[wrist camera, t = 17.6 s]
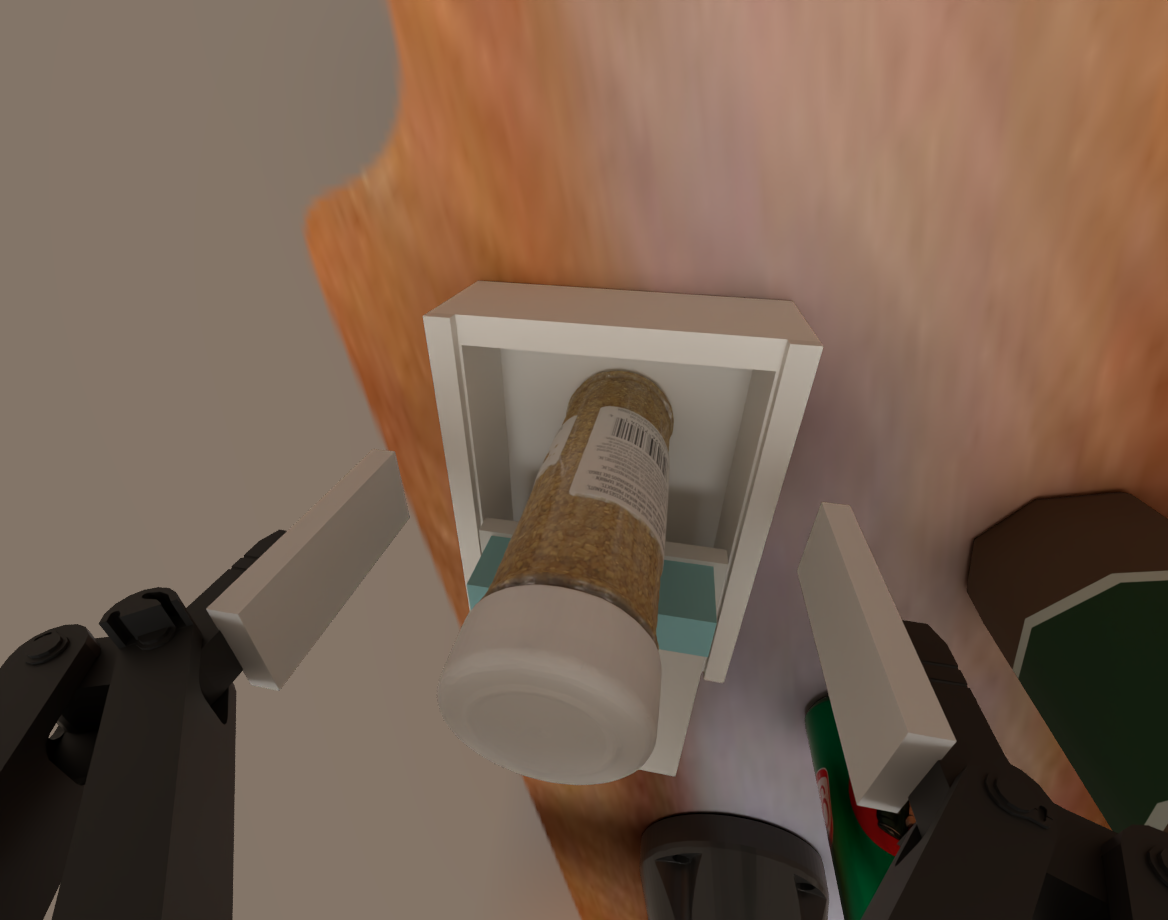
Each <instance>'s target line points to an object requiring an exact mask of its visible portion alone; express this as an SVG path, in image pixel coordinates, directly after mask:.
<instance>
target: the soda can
mask: <svg viewBox="0 0 1168 920" xmlns="http://www.w3.org/2000/svg"><path fill="white" fill-rule="evenodd" d="M805 727H806V732H807V737H808V742H809V747H810V752H811V757H812V762H813V767H814V772H815V777H816V781H817V786H818V791H819V796H820V801H821V806H822V811H823V816H824V821H825V826H826V831H827V836H828V841H829V846H830V851H831V856H832V861H833V865H834V870H835V875H836V880H837V885H838V890H839V895H840V900H841V905H842V910H843V915H844V920H861V918H862V916H863V915H864V913H865V911H866V909H867V907H868V905H869V904H870V902H871V900H872V898H873V896H874V894H875V893H876V891H877V889H878V887H879V885H880V883H881V882H882V880H883V878H884V876H885V874H886V873H887V871H888V869H889V867H890V865H891V863H892V862H893V860H894V858H895V856H896V854H897V852H898V851H899V849H900V846H899V845H897V843H898V842H899V841H900V840H901V838H902V837H903V836H904V835H905V834H906V833H907V832H908V831H909V829H910V828H911V827H912V826H913V825H914V824H915V823H916V820H915V817H914V814H913V811H912V808H911V805H910V802H909V800H908V801H907V802H906V803H905V804H904V806H903V807H902V808H901V809H900V810H899V812H898V813H894V812H889V811H884V810H879V809H874V808H869V807H864V806H859V805H857V803H856V799H855V796H854V792H853V788H852V784H851V780H850V776H849V772H848V768H847V764H846V760H845V757H844V753H843V749H842V745H841V741H840V737H839V733H838V729H837V725H836V722H835V718H834V714H833V710H832V706H831V702H830V698H829V696H827V697H824V698H822V699H820V700H818V701H817V702H816V703H815V704H814V705H813V706H812V707H811V708H810V710H809V711H808V713H807V715H806V717H805Z"/></svg>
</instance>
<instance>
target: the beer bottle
mask: <svg viewBox="0 0 1168 920" xmlns="http://www.w3.org/2000/svg"><path fill="white" fill-rule="evenodd" d="M967 592H968V594H969V596H970V598H971V600H972V602H973V604H974V606H975V608H976V610H977V611H978V613H979V615H980V617H981V619H982V621H983V623H984V624H985V626H986V628H987V629H988V631H989V632H990V634H991V636H992V637H993V639H994V641H995V642H996V644H997V645H998V647H999V649H1000V650H1001V652H1002V653H1003V655H1004V657H1005V658H1006V660H1007V661H1008V663H1009V665H1010V666H1011V668H1012V669H1013V671H1014V673H1015V674H1016V676H1017V678H1018V679H1019V681H1020V682H1021V684H1022V686H1023V687H1024V689H1025V690H1026V692H1027V694H1028V695H1029V697H1030V698H1031V700H1032V702H1033V703H1034V705H1035V707H1036V708H1037V710H1038V711H1039V713H1040V715H1041V716H1042V718H1043V719H1044V721H1045V723H1046V724H1047V726H1048V727H1049V729H1050V731H1051V732H1052V734H1053V736H1054V737H1055V739H1056V740H1057V742H1058V744H1059V745H1060V747H1061V748H1062V750H1063V752H1064V753H1065V755H1066V756H1067V758H1068V760H1069V761H1070V763H1071V765H1072V766H1073V768H1074V769H1075V771H1076V773H1077V774H1078V776H1079V777H1080V779H1081V781H1082V782H1083V784H1084V785H1085V787H1086V789H1087V790H1088V792H1089V794H1090V795H1091V797H1092V798H1093V800H1094V802H1095V803H1096V805H1097V806H1098V808H1099V810H1100V811H1101V813H1102V814H1103V816H1104V818H1105V819H1106V821H1107V823H1108V824H1109V826H1110V827H1111V829H1112V831H1114V832H1116V833H1120V832H1121V831H1123V830H1124V829H1126V828H1127V827H1129V826H1131V825H1132V824H1135V825H1149V826H1151V827H1154V828H1156V829H1159V830H1162V831H1164V832H1167V833H1168V519H1167V518H1165V517H1164V516H1162V515H1161V514H1159V513H1158V512H1156V511H1155V510H1153V509H1152V508H1150V507H1149V506H1148V505H1146V504H1145V503H1143V502H1142V501H1140V500H1139V499H1137V498H1136V497H1134V496H1133V495H1131V494H1128V493H1122V492H1114V493H1103V494H1092V495H1081V496H1070V497H1059V498H1048V499H1037V500H1034V501H1033V502H1031V503H1030V504H1028V505H1027V506H1025V507H1024V508H1022V509H1020V510H1019V511H1017V512H1016V513H1014V514H1013V515H1011V516H1010V517H1008V518H1007V519H1005V520H1004V521H1002V522H1000V523H999V524H997V525H996V526H994V527H993V528H991V529H990V530H988V531H987V532H985V533H984V534H982V535H980V536H979V537H977V538H976V539H974V546H973V552H972V558H971V565H970V571H969V577H968V584H967Z"/></svg>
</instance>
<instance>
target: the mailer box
mask: <svg viewBox="0 0 1168 920" xmlns="http://www.w3.org/2000/svg"><path fill="white" fill-rule="evenodd" d="M423 321H424V327H425V334H426V340H427V346H428V352H429V359H430V365H431V371H432V377H433V384H434V390H435V396H436V402H437V409H438V415H439V421H440V427H441V434H442V440H443V446H444V452H445V459H446V465H447V471H448V477H449V484H450V490H451V496H452V502H453V509H454V515H455V521H456V527H457V534H458V540H459V546H460V552H461V559H462V565H463V571H464V577H465V584H466V590H467V583H468V581H469V579H470V577H471V575H472V573H473V571H474V569H475V567H476V565H477V563H478V561H479V559H480V557H481V555H482V551H481V543H480V535H479V529H480V527H481V525H482V523H483V521H484V520H485V518H486V517H488V518H495V519H503V520H510V521H517V522H519V520H520V518H521V516H522V514H523V511H524V509H525V506H526V504H527V501H528V499H529V497H530V495H531V493H532V490H533V486H534V482H535V479H536V477H537V475H538V472H539V470H540V468H541V466H542V464H543V462H544V459H545V457H546V455H547V453H548V450H549V448H550V446H551V444H552V442H553V439H554V437H555V435H556V433H557V432H558V430H559V429H560V427H561V426H562V424H563V422H564V419H565V418H566V412H567V407H568V403H569V401H570V398H571V396H572V395H573V394H574V392H575V391H576V390H577V389H578V388H579V387H580V386H581V385H582V383H584V382H585V381H586V380H587V379H589V378H591V377H592V376H594V375H596V374H598V373H602V372H609V371H626V372H631V373H635V374H639V375H641V376H643V377H645V378H646V379H648V380H650V381H651V382H653V383H654V384H655V385H657V386H658V387H659V389H660V390H661V391H662V392H663V393H664V394H665V396H666V398H667V400H668V401H669V403H670V405H671V408H672V411H673V418H674V426H673V433H672V435H671V437H670V440H669V452H668V453H669V459H670V471H669V490H668V507H667V523H666V538H665V541H666V542H674V543H681V544H688V545H696V546H703V547H711V548H718V549H726V550H727V557H728V568H727V572H726V576H725V580H724V584H723V588H722V592H721V596H720V600H719V604H718V608H717V612H716V617H717V625H716V629H715V633H714V636H713V640H712V644H711V648H710V652H709V656H708V657H705V660H704V664H703V668H702V672H704V680H708V681H714V682H720V683H724V681H725V677H726V674H727V670H728V667H729V664H730V660H731V657H732V654H733V650H734V647H735V643H736V640H737V637H738V633H739V630H740V627H741V623H742V620H743V616H744V613H745V610H746V606H747V603H748V600H749V596H750V593H751V589H752V586H753V583H754V579H755V576H756V573H757V569H758V566H759V563H760V559H761V556H762V552H763V549H764V546H765V542H766V539H767V536H768V532H769V529H770V525H771V522H772V519H773V515H774V512H775V509H776V505H777V502H778V498H779V495H780V492H781V488H782V485H783V482H784V478H785V475H786V471H787V468H788V465H789V461H790V458H791V455H792V451H793V448H794V445H795V441H796V438H797V434H798V431H799V428H800V424H801V421H802V418H803V414H804V411H805V407H806V404H807V401H808V397H809V394H810V391H811V387H812V384H813V380H814V377H815V374H816V370H817V367H818V364H819V360H820V357H821V353H822V350H823V347H824V346H823V345H822V343H821V342H820V341H819V339H818V338H817V336H816V335H815V333H814V332H813V330H812V329H811V327H810V326H809V324H808V323H807V321H806V320H805V318H804V317H803V316H802V314H801V313H800V311H799V310H798V308H797V307H796V305H795V304H794V302H793V301H786V300H770V299H754V298H739V297H723V296H708V295H692V294H677V293H661V292H646V291H630V290H615V289H599V288H584V287H568V286H553V285H537V284H522V283H506V282H491V281H477V282H475V283H474V284H472V285H471V286H469V287H467V288H466V289H464V290H463V291H461V292H460V293H458V294H456V295H455V296H453V297H452V298H450V299H449V300H447V301H445V302H444V303H442V304H441V305H439V306H438V307H436V308H434V309H433V310H431V311H430V312H428V313H427V314H425V315H423ZM467 596H468V590H467ZM468 602H469V596H468ZM469 609H470V603H469ZM470 611H471V609H470Z"/></svg>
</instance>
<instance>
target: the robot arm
mask: <svg viewBox="0 0 1168 920" xmlns="http://www.w3.org/2000/svg"><path fill="white" fill-rule="evenodd" d="M409 518H410V516H409V512H408V507H407V503H406V499H405V494H404V490H403V485H402V481H401V476H400V472H399V467H398V463H397V459H396V454H395V451H386V450H377V449H373V450H371V451H370V452H369V453H368V454H367V455H366V456H365V457H364V458H363V459H362V460H361V461H360V462H359V463H358V464H357V465H356V466H355V467H354V468H353V469H352V470H351V471H349V472H348V473H347V474H346V475H345V476H344V477H343V478H342V479H341V480H340V481H339V482H338V483H337V484H336V485H335V486H334V487H333V488H332V489H331V490H330V491H329V492H328V493H326V494H325V496H323V497H322V498H321V499H320V500H319V501H318V502H317V503H316V504H315V505H314V506H313V507H312V508H311V509H310V510H309V511H308V512H307V513H306V514H305V515H303V516H302V517H301V518H300V519H299V520H298V521H297V522H296V523H295V524H294V525H293V526H292V527H291V528H290V529H289V530H288V531H284V530H278V531H276V532H275V533H273V534H271V535H269V536H267V537H266V538H264V539H262V540H260V541H259V542H258V543H257V544H256V545H254V546H253V547H252V548H251V549H250V550H249V551H248V552H247V553H246V554H245V555H244V558H240V559H239V560H238V561H237V562H236V563H235V564H234V565H233V566H232V568H231V570H230V569H228V570H227V571H226V572H225V573H224V574H223V575H222V576H221V577H220V578H219V579H217V580H216V581H215V582H214V583H213V584H212V585H211V586H210V587H209V588H208V589H207V590H205V592H204V593H202V594H201V595H200V596H199V597H198V598H197V599H196V600H195V601H194V602H192V603H191V604H190V605H189V606H188V607H187V608H185V606H184V604H183V603H182V601H181V600H180V598H179V597H178V595H177V593H176V592H174V591H173V590H171V589H170V588H159V587H157V588H152V589H147V590H143V591H140V592H138V593H135V594H133V595H130V596H128V597H126V598H125V599H123V600H122V601H120V602H118V603H116V604H115V605H114V606H113V607H112V608H110V610H108V611H107V612H106V613H105V614H104V616H103V617H102V619H101V621H100V622H99V625H100V626H101V627H102V628H103V630H104V631H105V632H106V633H107V635H108V636H109V637H104V638H94V637H93V636H92V634H91V633H90V632H89V630H88V629H87V628H86V627H84V626H81V625H78V624H74V625H63V626H60V627H57V628H53V629H50V630H48V631H45V632H43V633H41V634H39V635H37V636H35V637H33V638H32V639H30V640H29V641H27V642H26V643H24V644H23V645H21V646H20V647H19V648H18V649H17V650H16V651H15V652H14V653H12V655H10V656H9V658H8V659H7V660H6V661H5V663H4V664H3V665H2V667H1V668H0V920H43V919H44V916H45V914H46V912H47V910H48V908H49V906H50V904H51V902H52V900H53V898H54V895H55V893H56V891H57V889H58V887H59V885H60V888H59V893H58V896H57V901H56V904H55V909H54V912H53V916H52V920H232V909H233V852H234V794H235V735H236V730H235V729H236V690H235V686H234V684H233V681H234V680H235V679H236V678H237V676H238V675H239V674H240V673H241V672H242V671H243V672H244V674H245V675H246V677H247V678H248V680H249V682H250V684H251V685H253V686H258V687H264V688H268V689H273V690H278V691H280V689H281V688H282V687H283V686H284V684H285V683H286V682H287V680H288V679H289V678H290V676H291V675H292V674H293V672H294V671H295V670H296V668H297V667H298V666H299V664H300V663H301V662H302V660H303V659H304V658H305V656H306V655H307V654H308V652H309V651H310V650H311V648H312V647H313V646H314V644H315V643H316V641H317V640H318V639H319V638H320V636H321V635H322V634H323V632H324V631H325V630H326V628H327V627H328V626H329V624H330V623H331V622H332V620H333V619H334V618H335V616H336V615H337V614H338V612H339V611H340V610H341V608H342V607H343V606H344V604H345V603H346V602H347V600H348V599H349V598H350V596H351V595H352V594H353V592H354V591H355V590H356V588H357V587H358V586H359V584H360V583H361V582H362V580H363V579H364V577H365V576H366V575H367V574H368V572H369V571H370V570H371V569H372V567H373V566H374V565H375V563H376V562H377V561H378V559H379V558H380V556H381V555H382V554H383V552H384V551H385V550H386V549H387V547H388V546H389V545H390V543H391V542H392V541H393V539H394V538H395V537H396V535H397V534H398V533H399V531H400V530H401V529H402V527H403V526H404V525H405V523H406V522H407V521H408V519H409ZM797 573H798V577H799V581H800V585H801V589H802V593H803V597H804V601H805V605H806V609H807V612H808V616H809V620H810V624H811V628H812V632H813V636H814V640H815V644H816V647H817V651H818V655H819V659H820V663H821V667H822V671H823V675H824V679H825V683H826V686H827V690H828V694H829V698H830V702H831V706H832V710H833V714H834V718H835V722H836V725H837V729H838V733H839V737H840V741H841V745H842V749H843V753H844V757H845V760H846V764H847V768H848V772H849V776H850V780H851V784H852V788H853V792H854V796H855V799H856V803H857V805H859V806H864V807H869V808H874V809H879V810H884V811H889V812H894V813H898V812H899V810H900V809H901V808H902V807H903V806H904V804H905V803H906V802H907V801H908V800H909V802H910V805H911V808H912V811H913V814H914V817H915V820H916V823H915V824H914V825H913V826H912V827H911V828H910V829H909V831H908V832H907V833H906V834H905V835H904V836H903V837H902V838H901V840H900V841H899V842H898V843H897V845H899V846H900V849H899V851H898V852H897V854H896V856H895V858H894V860H893V862H892V863H891V865H890V867H889V869H888V871H887V873H886V874H885V876H884V878H883V880H882V882H881V883H880V885H879V887H878V889H877V891H876V893H875V894H874V896H873V898H872V900H871V902H870V904H869V905H868V907H867V909H866V911H865V913H864V915H863V916H862V918H861V920H1168V833H1167V832H1164V831H1162V830H1159V829H1156V828H1154V827H1151V826H1149V825H1135V824H1132V825H1131V826H1129V827H1127V828H1126V829H1124V830H1123V831H1121V832H1120V833H1116V832H1114V831H1111V830H1109V829H1107V828H1105V827H1103V826H1100V825H1098V824H1096V823H1094V822H1092V821H1090V820H1087V819H1085V818H1083V817H1081V816H1079V815H1076V814H1074V813H1072V812H1070V811H1068V810H1066V809H1064V808H1062V807H1060V806H1058V805H1056V804H1054V803H1053V802H1052V801H1051V799H1050V798H1049V797H1048V796H1047V794H1046V793H1045V792H1044V791H1043V789H1042V788H1041V787H1040V786H1039V784H1037V783H1036V782H1035V781H1034V780H1033V779H1031V778H1030V777H1029V776H1028V775H1027V774H1026V773H1024V772H1023V771H1022V770H1020V769H1018V768H1017V767H1015V766H1013V765H1011V764H1010V763H1009V761H1008V760H1007V758H1006V757H1005V755H1004V753H1003V751H1002V749H1001V747H1000V745H999V743H998V742H997V740H996V738H995V736H994V734H993V732H992V730H991V728H990V726H989V724H988V722H987V720H986V719H985V717H984V715H983V713H982V711H981V709H980V707H979V705H978V703H977V701H976V699H975V697H974V695H973V694H972V692H971V690H970V688H967V682H966V680H965V678H964V676H963V674H962V672H961V670H958V665H957V663H956V661H955V659H954V657H953V655H952V653H951V651H950V649H949V647H948V646H947V644H946V643H945V642H944V641H943V640H942V639H941V638H940V637H939V636H938V634H937V633H936V632H935V631H934V630H933V629H932V628H931V627H930V626H929V625H928V624H924V623H917V622H911V621H904V620H902V619H901V617H900V615H899V613H898V611H897V608H896V606H895V604H894V602H893V599H892V597H891V595H890V593H889V591H888V588H887V586H886V584H885V582H884V580H883V577H882V575H881V573H880V571H879V568H878V566H877V564H876V562H875V560H874V557H873V555H872V553H871V551H870V549H869V546H868V544H867V542H866V540H865V538H864V535H863V533H862V531H861V529H860V526H859V524H858V522H857V520H856V518H855V515H854V513H853V511H852V509H851V507H850V505H843V504H834V503H826V502H821V505H820V508H819V511H818V513H817V516H816V519H815V522H814V525H813V527H812V530H811V533H810V536H809V538H808V541H807V544H806V547H805V550H804V552H803V555H802V558H801V561H800V564H799V566H798V569H797ZM56 723H57V724H58V725H59V726H58V727H57V729H56V731H55V732H54V734H53V735H52V736H51V737H50V738H48V737H49V735H50V732H51V731H52V729H53V727H54V726H55V724H56ZM640 876H641V881H642V887H643V892H644V898H645V903H646V909H647V914H648V920H827V919H828V907H829V893H828V888H827V882H826V877H825V872H824V866H823V862H822V859H821V858H820V856H819V855H818V853H817V852H816V851H815V850H814V849H813V848H812V847H811V846H810V845H808V844H807V843H806V842H804V841H803V840H801V839H799V838H798V837H796V836H794V835H792V834H790V833H788V832H786V831H784V830H781V829H779V828H776V827H773V826H770V825H767V824H764V823H761V822H757V821H753V820H749V819H744V818H738V817H732V816H724V815H711V814H694V815H682V816H676V817H671V818H667V819H664V820H661V821H658V822H656V823H654V824H653V825H651V826H650V827H648V828H647V829H646V830H645V832H644V833H643V835H642V838H641V852H640ZM60 883H61V884H60Z"/></svg>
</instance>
